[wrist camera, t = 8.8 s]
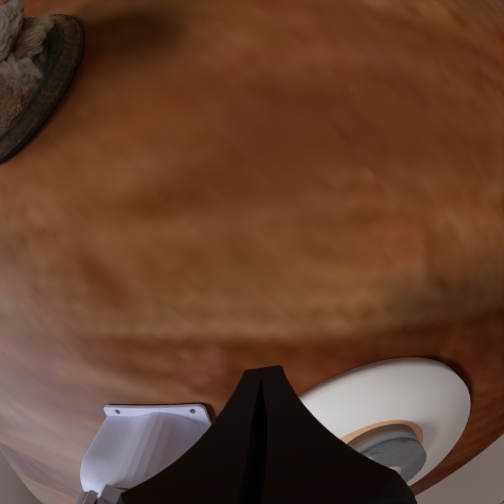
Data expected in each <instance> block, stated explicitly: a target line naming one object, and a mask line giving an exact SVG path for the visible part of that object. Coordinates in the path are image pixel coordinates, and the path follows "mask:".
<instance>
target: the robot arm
mask: <svg viewBox="0 0 504 504" xmlns="http://www.w3.org/2000/svg"><path fill="white" fill-rule="evenodd" d="M191 409H194V410H195V411H193V410H191ZM118 410H119V411H118ZM104 411H105V413H106V415H107V417H106V419H105V421H104V422H103V424H102V426H101V427H100V429H99V431H98V433H97V434H96V436H95V438H94V440H93V441H92V443H91V445H90V447H89V448H88V450H87V452H86V454H85V455H84V458H83V460H82V464H81V471H80V477H81V484H82V487H83V489H84V491H85V492H82V493H81V494H80V495H79V497H78V499H77V500H76V502H75V504H417V501H416V499H415V496H414V494H413V492H412V491H411V489H410V488H409V486H408V485H407V483H406V482H405V481H404V479H403V478H402V477H401V476H400V474H399V473H398V472H397V471H396V470H393V469H391V468H389V467H386V466H384V465H382V464H380V463H378V462H376V461H374V460H372V459H370V458H368V457H366V456H365V455H363V454H361V453H359V452H358V451H356V450H355V449H353V448H352V447H350V446H349V445H347V444H346V443H345V442H343V441H342V440H340V439H339V438H338V437H336V436H335V435H334V434H333V433H332V432H330V431H329V430H328V429H327V428H326V427H325V426H324V425H323V424H321V423H320V422H319V421H318V420H317V419H316V418H315V416H314V415H313V414H312V413H311V412H310V411H309V410H308V409H307V407H306V406H305V405H304V404H303V403H302V401H301V400H300V399H299V397H298V396H297V394H296V393H295V391H294V390H293V388H292V387H291V385H290V383H289V382H288V380H287V378H286V376H285V373H284V370H283V367H282V366H280V365H276V366H270V367H264V368H257V369H250V370H245V371H244V372H243V374H242V376H241V378H240V380H239V382H238V384H237V386H236V388H235V390H234V392H233V393H232V395H231V397H230V398H229V400H228V402H227V403H226V405H225V406H224V408H223V409H222V411H221V412H220V414H219V415H218V416H217V418H216V419H215V421H214V422H213V423H211V420H210V418H209V415H208V413H207V410H206V408H205V406H203V405H202V404H187V405H159V406H127V405H106V406H105V407H104ZM500 504H504V501H503V502H502V503H500Z"/></svg>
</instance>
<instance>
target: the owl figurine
mask: <svg viewBox="0 0 504 504" xmlns="http://www.w3.org/2000/svg"><path fill="white" fill-rule="evenodd" d="M83 52H84V34H83V31H82V26H80V24H79V23H78V21H76V19H73V18H71V17H69V16H67V15H63V14H54V15H53V14H43V15H40V16H38V17H34V18H32V17H28V18H24V6H23V3H22V2H21V0H0V163H2V162H4V161H5V160H7V159H8V158H9V157H11V156H12V155H13V154H14V153H15V152H16V151H17V150H18V149H20V148H21V147H22V145H24V144H25V143H26V142H27V141H28V140H29V139H30V138H31V137H32V136H33V135H34V134H35V132H36V131H37V130H38V129H39V128H40V127H41V125H42V124H43V123H44V121H45V120H46V119H47V118H48V117H49V116H50V114H51V113H52V111H53V110H54V109H55V107H56V106H57V105H58V103H59V102H60V100H61V99H62V97H63V95H64V93H65V92H66V90H67V89H68V87H69V85H70V84H71V80H72V77H73V74H74V71H73V70H74V68H75V67H76V66H78V65H79V64H80V61H81V59H82V54H83Z"/></svg>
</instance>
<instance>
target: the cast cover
mask: <svg viewBox="0 0 504 504" xmlns="http://www.w3.org/2000/svg"><path fill="white" fill-rule="evenodd" d="M347 445H349V446H350V447H352V448H353V449H355V450H356V451H358V452H359V453H361V454H363V455H365V456H366V457H368V458H370V459H372V460H374V461H376V462H378V463H380V464H382V465H384V466H386V467H389V468H391V469H393V470H396V471H397V472H398V473H399V474H400V476H401V477H402V478H403V479H404V481H405V482H406V483H407V482H408V481H409V480H411V479H412V478H413V477H414V476H415V475H416V474H417V473H418V472H419V471H420V470H421V469H422V467H423V466H424V464H425V462H426V459H427V454H426V451H425V450H424V448H423V446H422V444H421V442H420V440H419V439H418V437H417V435H416V433H415V431H414V430H413V429H412V428H411V427H410V426H408V425H405V424H388V425H383V426H380V427H376V428H374V429H371V430H369V431H366V432H364V433H362V434H360V435H359V436H357V437H355V438H354V439H352V440H351V441H349V442H348V443H347Z"/></svg>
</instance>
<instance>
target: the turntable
mask: <svg viewBox="0 0 504 504" xmlns="http://www.w3.org/2000/svg"><path fill="white" fill-rule="evenodd" d="M298 397H299V399H300V400H301V401H302V403H303V404H304V405H305V406H306V407H307V409H308V410H309V411H310V412H311V413H312V414H313V415H314V416H315V418H316V419H317V420H318V421H319V422H320V423H321V424H323V425H324V426H325V427H326V428H327V429H328V430H329V431H330V432H332V433H333V434H334V435H335V436H336V437H338V438H339V439H340V440H342V441H343V442H345V443H346V444H347V443H348V442H349V441H351V440H352V439H354V438H355V437H357V436H359V435H360V434H362V433H364V432H366V431H369V430H371V429H374V428H376V427H380V426H383V425H388V424H405V425H408V426H410V427H411V428H412V429H413V430H414V431H415V433H416V435H417V437H418V439H419V440H420V442H421V444H422V446H423V448H424V450H425V451H426V454H427V459H426V462H425V464H424V466H423V467H422V469H421V470H420V471H419V472H418V473H417V474H416V475H415V476H414V477H413V478H412V479H411V480H409V481H408V482H407V485H408V486H410V485H412V484H414V483H415V482H417V481H418V480H420V479H421V478H422V477H424V476H425V475H426V474H428V473H429V472H430V471H431V470H432V469H433V468H435V467H436V466H437V465H438V464H439V463H440V462H441V461H442V460H443V459H444V458H445V457H446V456H447V454H448V453H449V452H450V451H451V450H452V448H453V447H454V445H455V444H456V443H457V441H458V440H459V438H460V436H461V434H462V432H463V431H464V428H465V426H466V423H467V421H468V417H469V413H470V405H471V404H470V395H469V391H468V388H467V387H466V385H465V383H464V382H463V381H462V380H461V378H460V377H459V376H458V375H457V374H456V373H455V372H454V371H453V370H452V369H451V368H450V367H448V366H446V365H445V364H443V363H441V362H438V361H435V360H432V359H428V358H420V357H401V358H393V359H386V360H382V361H377V362H373V363H369V364H366V365H362V366H359V367H356V368H353V369H350V370H348V371H345V372H343V373H340V374H338V375H335V376H333V377H331V378H329V379H327V380H325V381H323V382H321V383H319V384H317V385H315V386H313V387H312V388H310V389H308V390H307V391H305V392H303V393H301V394H300V395H299V396H298Z"/></svg>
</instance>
